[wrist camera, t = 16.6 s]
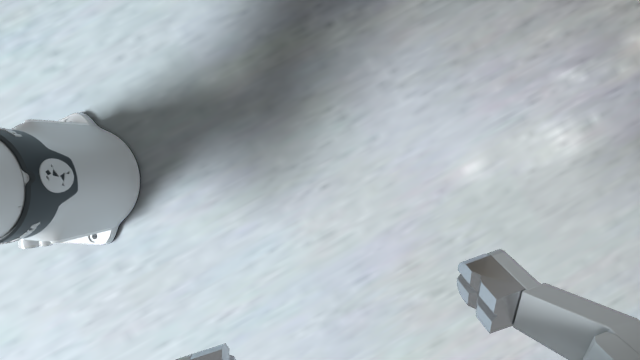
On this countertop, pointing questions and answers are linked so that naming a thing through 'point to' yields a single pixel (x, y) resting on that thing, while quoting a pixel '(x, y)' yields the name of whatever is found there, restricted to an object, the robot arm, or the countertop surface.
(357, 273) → the countertop surface
